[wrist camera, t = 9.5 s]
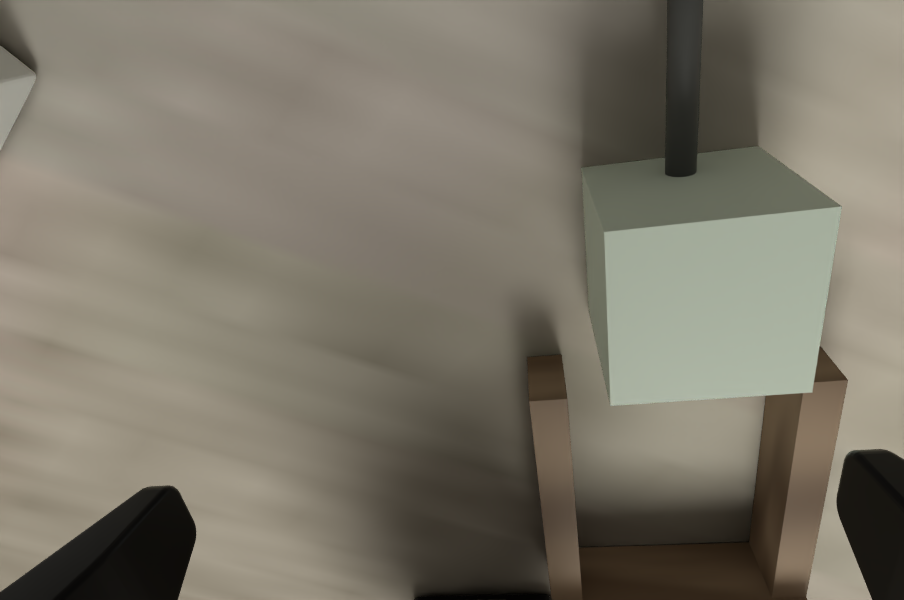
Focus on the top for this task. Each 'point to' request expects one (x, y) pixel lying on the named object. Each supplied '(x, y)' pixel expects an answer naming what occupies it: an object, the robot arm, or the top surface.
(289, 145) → the top surface
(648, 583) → the walnut lane
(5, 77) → the milk carton
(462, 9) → the top surface
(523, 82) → the top surface
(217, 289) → the top surface
